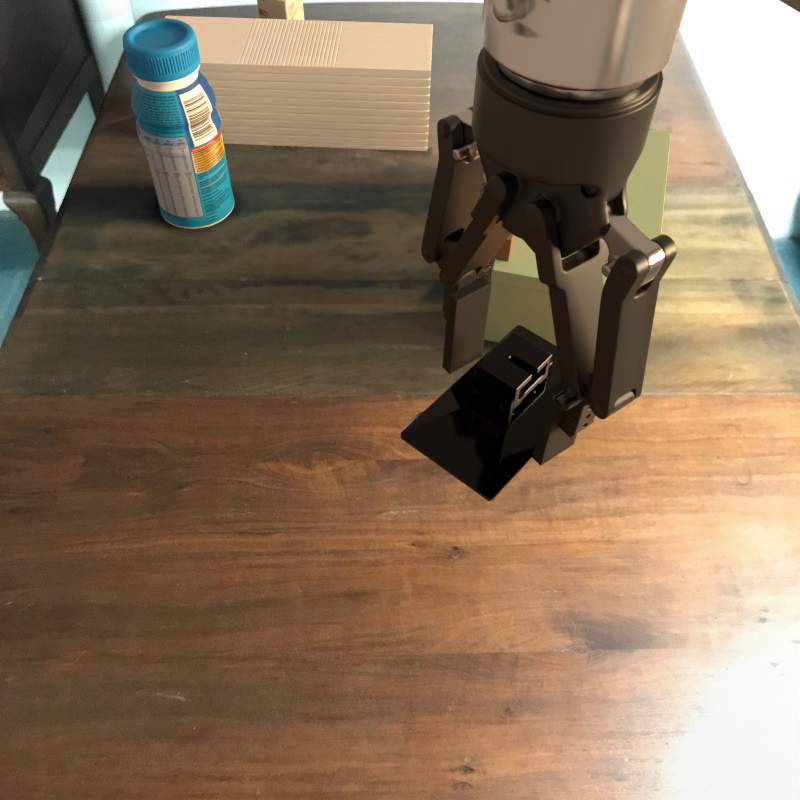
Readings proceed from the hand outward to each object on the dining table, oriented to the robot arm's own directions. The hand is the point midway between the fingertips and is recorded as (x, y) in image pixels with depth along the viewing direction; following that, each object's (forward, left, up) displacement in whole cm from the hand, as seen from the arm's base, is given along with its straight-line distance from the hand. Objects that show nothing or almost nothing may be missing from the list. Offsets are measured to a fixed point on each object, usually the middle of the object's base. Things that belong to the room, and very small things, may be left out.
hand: (505, 403), depth 49 cm
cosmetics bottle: (+73, -24, -18) cm, 78 cm away
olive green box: (+20, -28, -17) cm, 38 cm away
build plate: (0, 0, 0) cm, 0 cm away
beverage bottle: (+51, 0, -18) cm, 54 cm away
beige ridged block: (+59, -18, -18) cm, 64 cm away
